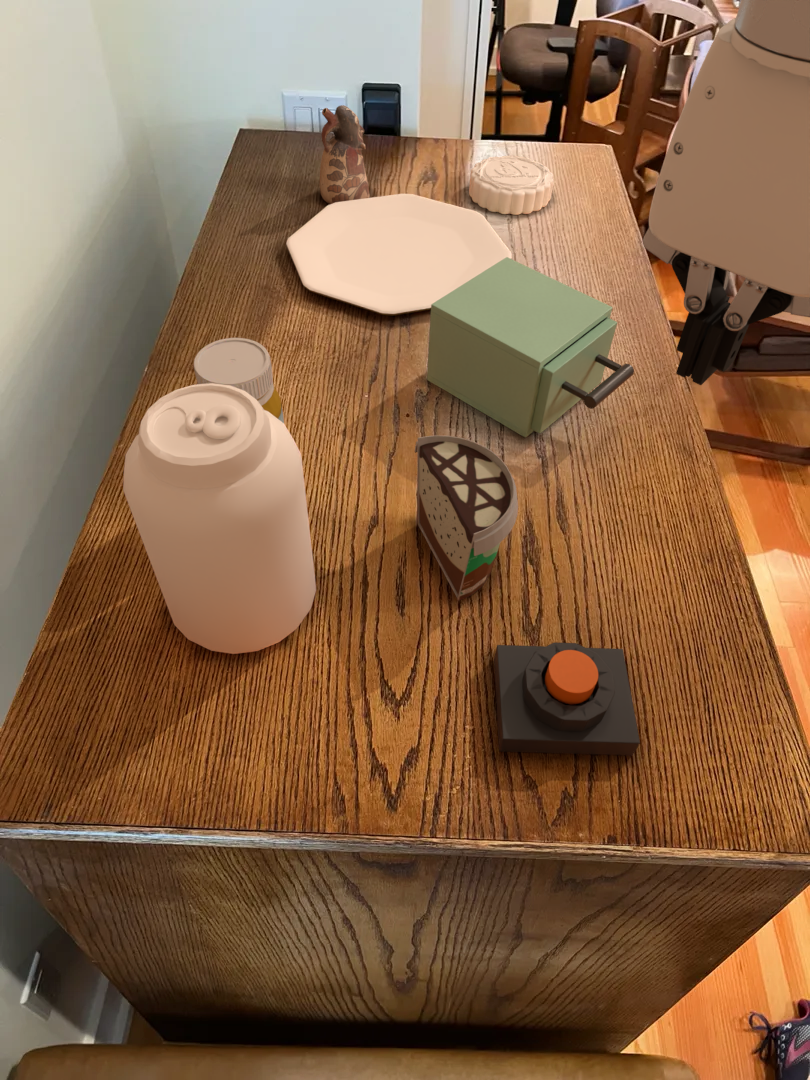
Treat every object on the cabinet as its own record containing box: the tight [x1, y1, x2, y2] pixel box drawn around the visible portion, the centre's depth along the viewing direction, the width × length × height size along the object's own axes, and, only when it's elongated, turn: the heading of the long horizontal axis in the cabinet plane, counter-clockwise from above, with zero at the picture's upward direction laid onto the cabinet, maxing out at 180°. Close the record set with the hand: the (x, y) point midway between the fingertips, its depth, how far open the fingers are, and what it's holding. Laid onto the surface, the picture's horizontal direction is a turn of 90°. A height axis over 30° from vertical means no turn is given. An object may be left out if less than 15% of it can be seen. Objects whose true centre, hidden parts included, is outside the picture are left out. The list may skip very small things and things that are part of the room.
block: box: [493, 642, 641, 757], centre depth 58 cm, size 10×8×4 cm
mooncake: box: [468, 154, 555, 216], centre depth 111 cm, size 12×12×4 cm
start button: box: [545, 650, 598, 704], centre depth 56 cm, size 4×4×2 cm
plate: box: [285, 193, 513, 317], centre depth 100 cm, size 28×28×2 cm
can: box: [122, 383, 317, 655], centre depth 58 cm, size 12×12×20 cm
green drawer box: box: [426, 257, 613, 439], centre depth 81 cm, size 14×13×10 cm
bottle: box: [193, 337, 285, 424], centre depth 68 cm, size 7×7×15 cm
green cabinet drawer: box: [531, 317, 635, 435], centre depth 80 cm, size 17×11×8 cm
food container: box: [414, 434, 519, 602], centre depth 66 cm, size 12×6×10 cm, turn 22°
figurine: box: [318, 104, 371, 205], centre depth 107 cm, size 7×7×12 cm
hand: (699, 368), depth 46 cm, fingers closed
